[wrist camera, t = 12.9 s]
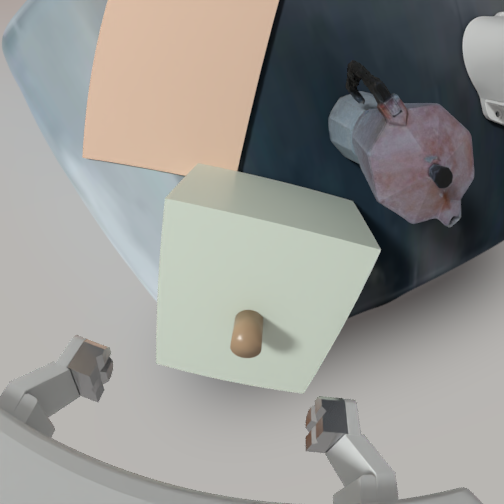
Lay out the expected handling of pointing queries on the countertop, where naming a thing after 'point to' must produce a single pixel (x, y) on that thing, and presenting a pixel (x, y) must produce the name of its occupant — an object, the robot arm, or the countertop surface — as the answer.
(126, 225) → the countertop surface
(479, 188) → the countertop surface
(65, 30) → the countertop surface
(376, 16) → the countertop surface
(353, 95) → the moka pot
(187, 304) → the sage cover
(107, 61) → the peach flat square panel
